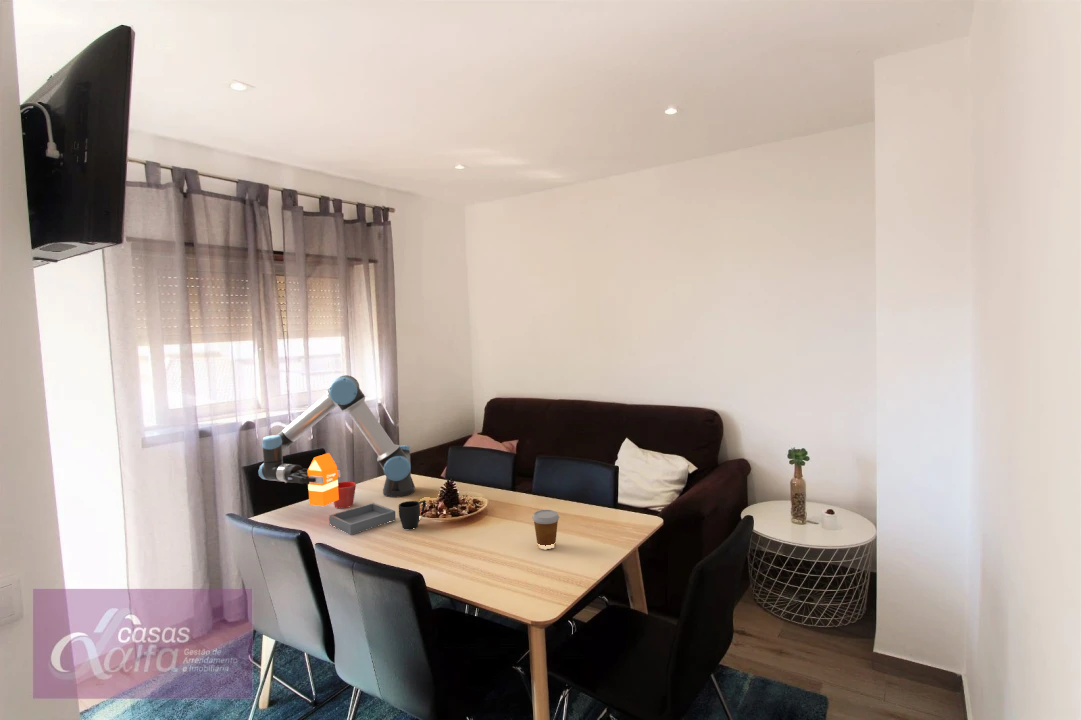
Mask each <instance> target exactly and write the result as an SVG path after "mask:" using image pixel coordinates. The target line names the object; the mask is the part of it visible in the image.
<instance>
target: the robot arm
mask: <svg viewBox="0 0 1081 720" xmlns="http://www.w3.org/2000/svg"><path fill="white" fill-rule="evenodd" d="M365 400H366V396H365V394H364V392H363V391H362V389H361V388H360V384H359V382H358V380H357V379H356V378H355V377H353V376H351V375H341V376H339V377H337V378H335V379H334V380H333V381H332V382H331V383H330V386H329V388H328V389H326V393H325V394H324V395H322V397H320V398H319V399H318V400H317V401H316V402H314V403H313V404H312V405H311V406H309V407H308V409H306V410H305V411H304V412H303V413H301V415H299V416H298V417H296V418H295V419H294V420H293V421H291V422H290V423H289V424H288V425H287V426H286V427H284V429H282V430H281V431H279V432H278V433H277V434H273V435H272V434H271V435H267V436H264V437H263V438H262V444H261V446H262V455H263V456H262V457H263V463H262V464H261V465H259V469H258V472H257V473H258V476H259V477H260V478H261V479H262V480H267V481H276V482H284V484H287V483H292V484H293V483H295V484H301V485H307V486H308V484H309V482H310V483H320V484H323V483H324V481H323V477H321V476H310V478H309V476H308V471H307V470H308V469H309V468H303V467H302V466H301V465H300V464H292V463H284V458H283V452H284V451H285V450H287V449H288V448H289V447H290V446H291V445H293V443H294V442H296V441H297V440H298V439H299V438H301V437H302V436H303V435H304V434H305V433H307V432H308V431H309V430H310V429H311V428H313V427H314V426H315V425H316V424H318V422H320V421H321V420H323V418H324V417H326V416H327V415H328V414H330V413H331V412H332V411H333V410H334V409H336V408H337V407H338V408H339V409H340V410H341V411H342V412H343V413H347V414H348V415H349V417H350V418H351V419H352V421H353V422H354V424H355V425H356V426H357V428H358V429H359V431H360V432H361V434H362V436H364V437H365V439H366V441H367V442H368V444H369V445H370V447H371V448H372V449H373V451H374V452H375V453H376V455H377V459H376V460H377V462H378V463H379V465H380V467H381V468H382V470H383V474H384V475H385V479H384V480H385V481H384V483H383V488H382V495H383V496H384V497H388V496H389V497H390V498H397V496H400V497H404V496H405V497H406V496H409V495H412V494H414V493H415V492H416V488H415V487H416V486H415V483H414V481H413V478H412V474H411V473H412V472H411V470H412V469H411V468H412V467H411V466H412V463H411V449H410V446H409V445H407V444H403V445H402V444H400V445H399V444H396V443H394V442H393V440H392V439H391V438H390V436H389V435H388V433H387V432H386V430H385V428H384V427H383V426H382V425H381V423H380V422H379V421H378V419H377V417H376V416H375V415H374V413H373V411H371V409H370V407H369V406H368V405H367V404H366V402H365ZM341 475H342V474H341V470H339V469H337V477H338V478H341ZM413 492H414V493H413Z"/></svg>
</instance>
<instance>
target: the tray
mask: <svg viewBox="0 0 1081 720" xmlns="http://www.w3.org/2000/svg"><path fill="white" fill-rule="evenodd" d="M328 516H329V517H328V518H329V522H328V523H329V525H330V524H331V525H332V526H331V525H330V526H331V527H333V526H335V527H336V528H335V527H334V528H335V529H337V528H339V529H340V531H341V530H342V531H341V532H343V531H344V532H343V533H345V532H346V533H345V534H347V533H348V534H347V535H349V536H352V535H355V534H358V533H361V532H360V531H362V532H364V531H363V530H365V531H366V529H368V530H370V529H369V528H371V527H374V528H376V527H375V526H377V527H379V526H378V525H380V524H383V525H385V524H384V523H386V524H388V523H387V522H389V521H392V522H394V521H393V520H395V521H396V519H397V518H396V510H395V509H391V508H388V507H385V506H383V505H380V504H377V503H375V502H372V503H367V504H365V505H364V504H363V505H360V506H358V507H353V508H350V509H347V510H343V511H340V512H337V513H333V514H330V515H328ZM389 523H390V522H389ZM380 526H381V525H380ZM339 529H338V530H339ZM371 529H372V528H371ZM357 532H358V533H357Z"/></svg>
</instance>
